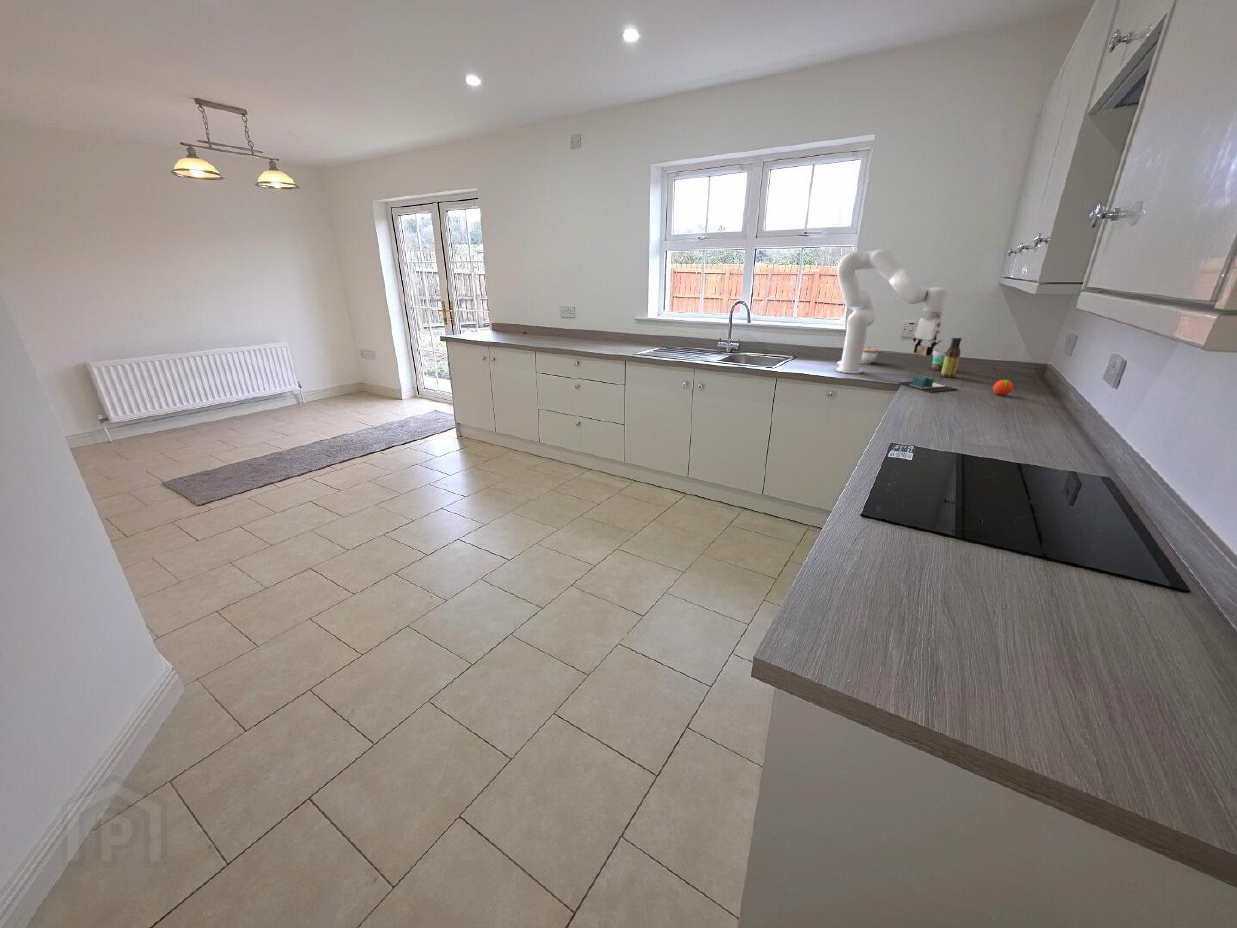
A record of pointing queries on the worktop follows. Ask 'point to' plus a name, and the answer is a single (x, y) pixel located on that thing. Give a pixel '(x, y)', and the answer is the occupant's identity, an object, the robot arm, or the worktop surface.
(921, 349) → the letter I
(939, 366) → the food container
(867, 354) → the trinket box
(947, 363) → the sauce bottle
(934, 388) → the word mat
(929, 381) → the letter H
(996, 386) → the tomato
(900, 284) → the robot arm
